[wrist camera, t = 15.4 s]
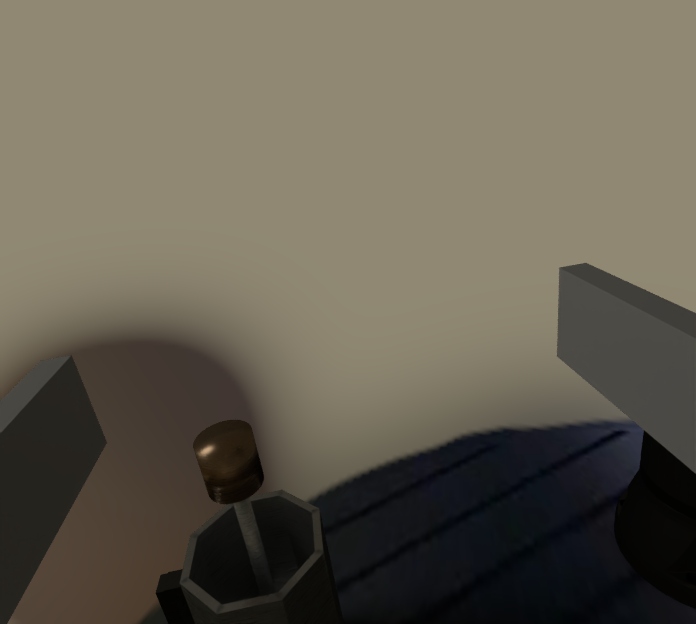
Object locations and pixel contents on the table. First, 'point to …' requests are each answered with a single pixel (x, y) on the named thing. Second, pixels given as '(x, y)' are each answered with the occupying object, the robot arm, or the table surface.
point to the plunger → (236, 484)
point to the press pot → (238, 576)
